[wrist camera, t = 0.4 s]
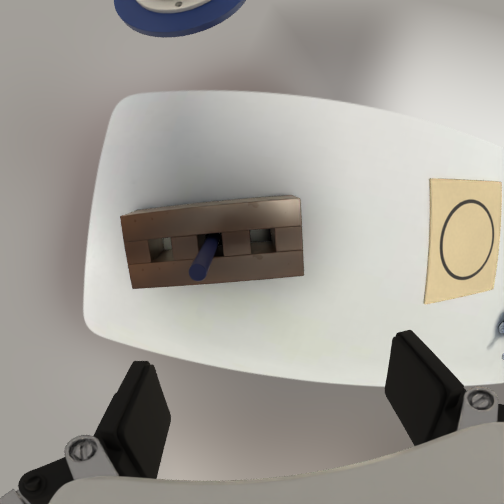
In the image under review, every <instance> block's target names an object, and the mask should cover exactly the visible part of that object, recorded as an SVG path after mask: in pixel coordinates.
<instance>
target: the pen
mask: <svg viewBox="0 0 504 504" xmlns="http://www.w3.org/2000/svg"><path fill="white" fill-rule="evenodd" d="M220 238H221V235H220V233H210V234H209V236H208V238H207V239H206V241H205V243H204V244H203V246H202V248H201V249H200V251H199V253H198V255H197V256H196V258H195V260H194V261H193V263H192V265H191V267H190V268H189V276H190V277H191V279H193V280H194V281H202V280H204V279H205V277H206V275H207V273H208V270H209V267H210V265H211V262H212V259H213V257H214V254H215V251H216V249H217V246H218V243H219V241H220Z"/></svg>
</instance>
